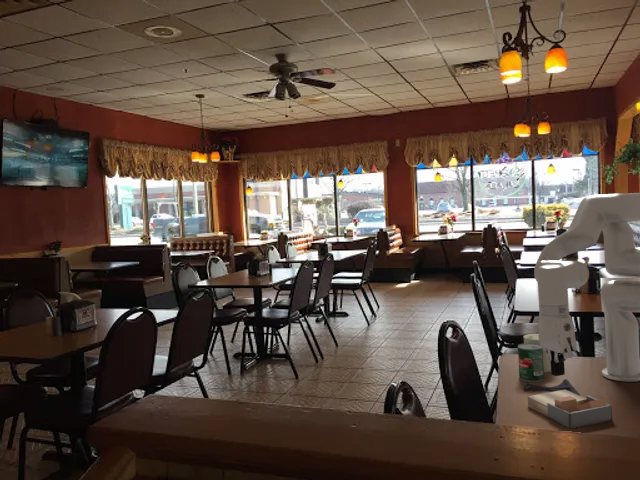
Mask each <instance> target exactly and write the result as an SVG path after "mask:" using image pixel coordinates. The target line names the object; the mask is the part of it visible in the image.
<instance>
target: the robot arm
mask: <svg viewBox="0 0 640 480" xmlns="http://www.w3.org/2000/svg"><path fill="white" fill-rule="evenodd" d="M629 222H630V223H632V222H640V192H633V193H631V192H629V193H608V194H607V193H605V194H592V195H588V196H586V197H584V198H583V199H582V200H581V201H580V203H579V205H578V207H577V209H576V212H575V214H574V216H573V218H572V221H571V223H570V225H569V227H568V229H567V230H566V231H564V232H562V233H561V234H559V235H558V236H556V238H554V239H553V240H551V241H550V242H548V243H547V244H546V245H545V246H544V247H543V248H542V250H541V252H540V254H539V256H538V258H537V260H536V262H535V266H534V271H533V272H534V273H533V276H534V279H535V281H536V282H537V294H538V308H539V309H538V310H539V314H538V324H537V325H538V329H537V330H538V332H537V334H539V343H540V345H541V346H542V349H543V350H544V351H546V352H547V354H548V357H549V360H550V363H551V371H550V373H551V375H552V376H554V377H560V376H563V375H565V373H566V371H565V369H566V368H565V362H566V359H572V358H573V355H572V354H573V353H572V352H576V351H577V342H576V341H577V340H576V333H575V327H574V323H573V322H574V321H573V318H572V315H570V305H569V303H570V302H569V291H568V290H569V289H577V288H581V287H583V286H584V285H585V284H586V283H587V282H588V280H589V277H590V271H589V268H588V266H587V265H586V264H585V263H584V262H581V261H579V260H578V261H577V260H563V259H562V258H564V257H566V256H569V255H571V254H575V253H579V252H581V251H585V250H586V249H590V248H591V247H594V245H596V244H597V242H598V241H599V239H600V235H601V233H602V235H603V249H604V250H603V252H604V267H605V270H606V272H607V273H608V274H609V275H611V276H615V277H629V278H631V277H632V278H640V246H636V245H635V238H634V230H633V228H632V226H631V225H630V223H629ZM561 259H562V260H561ZM600 297H601V298H600V299H601V303H602V307H603V313H604V325H605V326H604V328H605V329H604V330H605V351H606V352H605V353H606V355H605V356H606V357H605V358H606V367H605V368H603V369H602V370H601V375H602V376H603V377H605V378H606V379H609V380H612V381H616V382H617V381H618V382H627V383H630V382H632V383H633V382H640V338H639V337H640V336H639V335H640V334H639V322H638V320H637V318H636V316H635V315H634V314H633V312H640V281H639V280H626V279H624V280H623V279H611V280H608V281H606V282H604V283H603V284H602V286H601V288H600ZM632 311H633V312H632Z"/></svg>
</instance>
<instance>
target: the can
mask: <svg viewBox="0 0 640 480" xmlns="http://www.w3.org/2000/svg"><path fill="white" fill-rule="evenodd" d="M522 338H523V344H524V343H534V344H540V343H539V334H538V333H529V334H525V335H523V337H522ZM543 365H544V374H545V373H551V363H550V360H549V357H548V354H547V352H546V351H544V350H543Z"/></svg>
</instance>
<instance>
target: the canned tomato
mask: <svg viewBox="0 0 640 480" xmlns="http://www.w3.org/2000/svg"><path fill="white" fill-rule="evenodd" d="M517 358H518V378H519V380H520V381H522V382H526V383H539V382H543V381H544V380H545V373H544V365H543V349H542V346H541V345H540V344H534V343H524V342H523V343H519V344H518V345H517Z"/></svg>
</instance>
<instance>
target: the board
mask: <svg viewBox="0 0 640 480" xmlns="http://www.w3.org/2000/svg"><path fill="white" fill-rule="evenodd" d="M567 396H571V397H573V398H576V400H577V410H579V408H578V406H580V405H582V404H584V403H587V397H584V396H581V395H580V396H579V395H577V394H574V393H572V392H570V391H569V390H560V391H548V392H545V393H537V394H534V395H528V396H527V407H528V408H530V409H532V410H534V411H536V412H538V413H540V414H542V415H544V416H546V417H547V418H548V406H547V403H550V404H553V405H555V399H557V398H562V397H567Z"/></svg>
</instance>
